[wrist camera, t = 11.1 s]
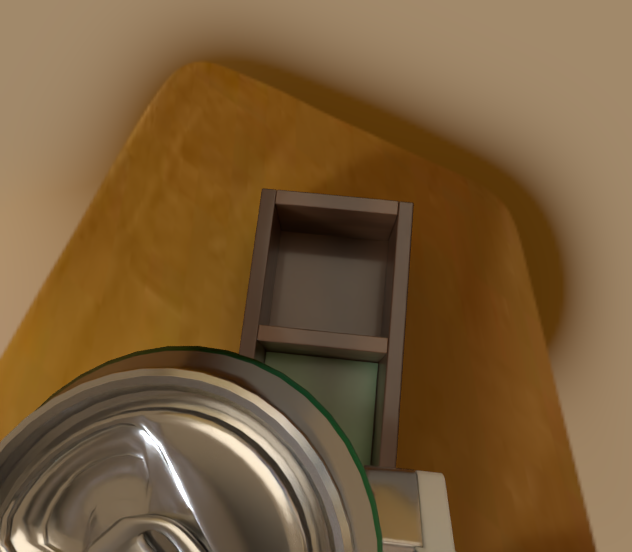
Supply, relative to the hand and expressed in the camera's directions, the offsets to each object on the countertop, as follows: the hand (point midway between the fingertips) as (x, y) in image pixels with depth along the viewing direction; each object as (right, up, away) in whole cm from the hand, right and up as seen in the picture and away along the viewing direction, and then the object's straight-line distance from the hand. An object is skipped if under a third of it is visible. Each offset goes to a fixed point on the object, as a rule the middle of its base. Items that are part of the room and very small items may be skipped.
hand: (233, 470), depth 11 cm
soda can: (0, -2, +6) cm, 7 cm away
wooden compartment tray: (+2, -4, +21) cm, 21 cm away
